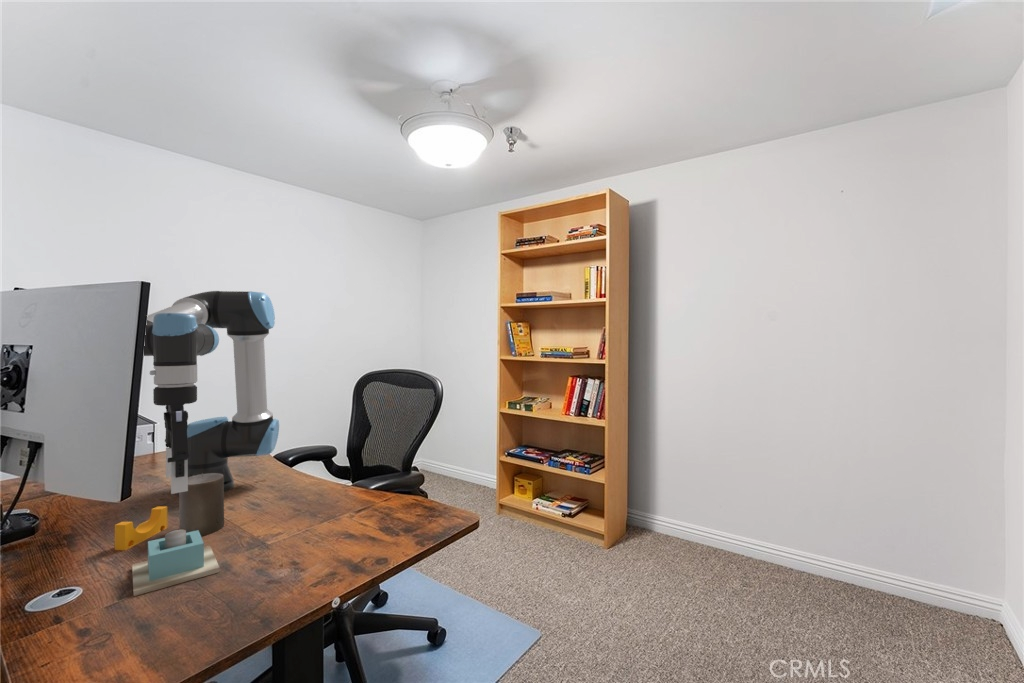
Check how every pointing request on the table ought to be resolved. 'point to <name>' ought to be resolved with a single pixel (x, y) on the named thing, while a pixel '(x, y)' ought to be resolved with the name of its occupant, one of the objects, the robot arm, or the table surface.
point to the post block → (145, 585)
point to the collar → (175, 556)
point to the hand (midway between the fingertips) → (176, 484)
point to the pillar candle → (202, 504)
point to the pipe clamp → (140, 529)
